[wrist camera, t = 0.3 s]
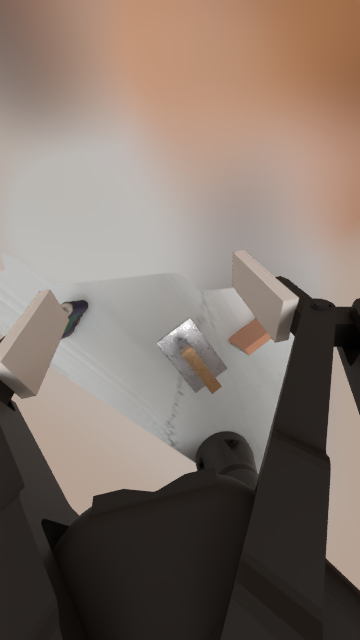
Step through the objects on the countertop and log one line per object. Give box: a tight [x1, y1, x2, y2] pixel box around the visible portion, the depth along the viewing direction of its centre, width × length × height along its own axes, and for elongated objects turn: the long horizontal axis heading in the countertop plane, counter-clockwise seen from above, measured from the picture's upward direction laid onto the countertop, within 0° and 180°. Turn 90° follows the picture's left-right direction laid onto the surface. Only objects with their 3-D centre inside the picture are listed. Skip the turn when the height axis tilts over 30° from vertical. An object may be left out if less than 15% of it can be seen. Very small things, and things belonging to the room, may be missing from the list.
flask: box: [61, 300, 88, 339], centre depth 41 cm, size 9×3×11 cm, turn 147°
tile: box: [228, 318, 271, 355], centre depth 47 cm, size 2×10×10 cm, turn 126°
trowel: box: [157, 318, 227, 394], centre depth 46 cm, size 16×10×11 cm, turn 37°
